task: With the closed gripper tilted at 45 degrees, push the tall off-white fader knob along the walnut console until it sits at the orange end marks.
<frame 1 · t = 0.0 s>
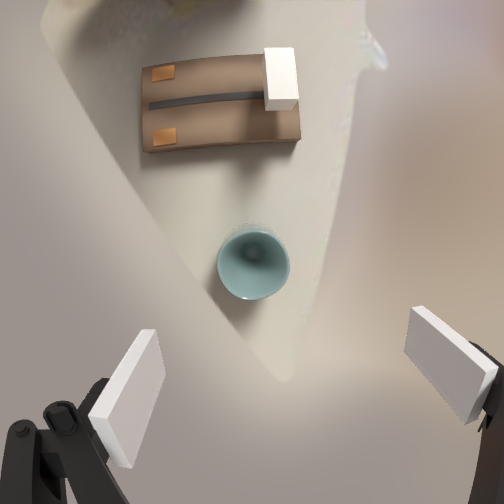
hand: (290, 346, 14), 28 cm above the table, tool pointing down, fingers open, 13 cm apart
cup: (251, 246, 42), on the table
fader knob: (277, 83, 30), point 7 cm above the table, slide at 0.0 cm
console: (219, 103, 37), on the table
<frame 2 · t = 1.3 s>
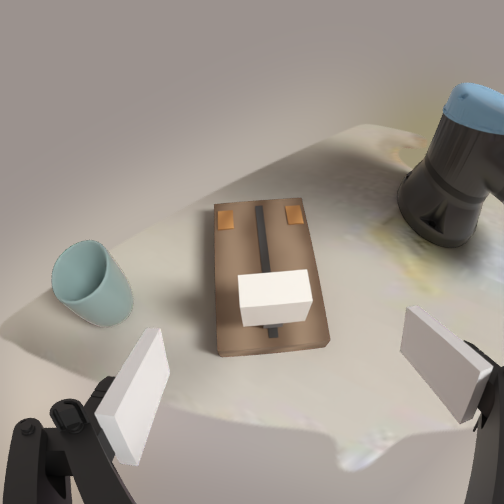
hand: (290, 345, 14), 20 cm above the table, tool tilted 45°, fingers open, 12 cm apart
cup: (115, 307, 37), on the table
fader knob: (273, 305, 29), point 7 cm above the table, slide at 0.0 cm
console: (265, 276, 39), on the table
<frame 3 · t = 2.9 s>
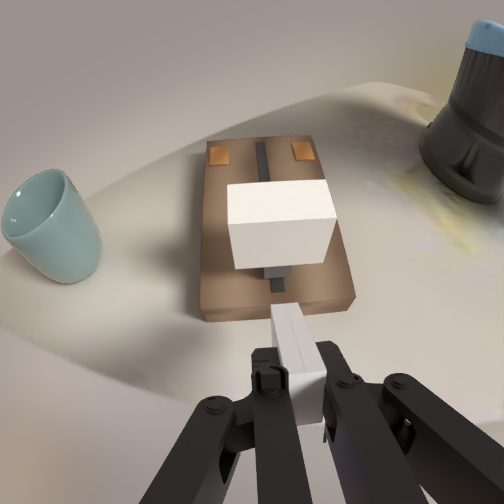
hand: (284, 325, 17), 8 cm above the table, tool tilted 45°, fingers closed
cup: (81, 262, 29), on the table
fader knob: (278, 238, 20), point 7 cm above the table, slide at 0.0 cm
console: (267, 221, 30), on the table
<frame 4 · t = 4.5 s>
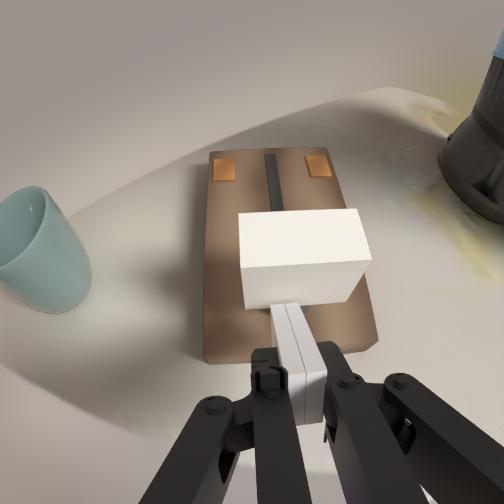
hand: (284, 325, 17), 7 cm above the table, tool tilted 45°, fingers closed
cup: (70, 287, 25), on the table
fader knob: (296, 274, 17), point 7 cm above the table, slide at 0.5 cm, touching gripper
console: (278, 247, 27), on the table
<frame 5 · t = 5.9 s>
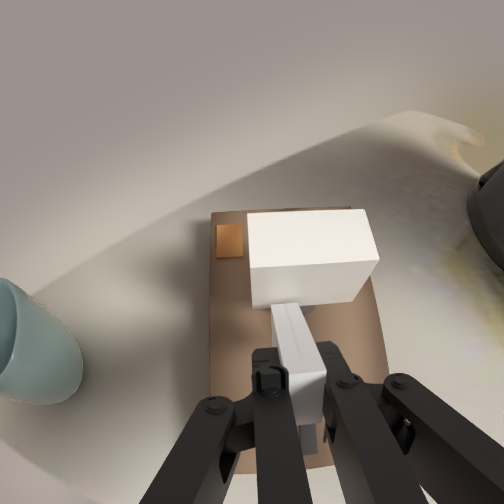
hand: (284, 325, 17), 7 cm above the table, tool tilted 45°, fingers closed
cup: (61, 368, 21), on the table
fader knob: (303, 274, 17), point 7 cm above the table, slide at 8.6 cm, touching gripper
console: (293, 336, 23), on the table
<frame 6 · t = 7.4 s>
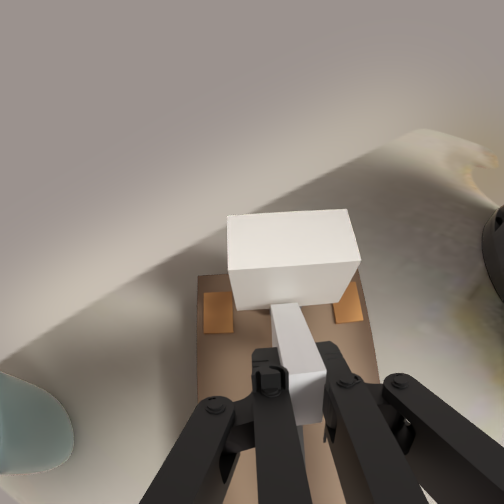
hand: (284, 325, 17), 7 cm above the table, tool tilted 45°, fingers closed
cup: (53, 430, 18), on the table
fader knob: (287, 275, 17), point 7 cm above the table, slide at 14.4 cm, touching gripper
console: (289, 410, 20), on the table
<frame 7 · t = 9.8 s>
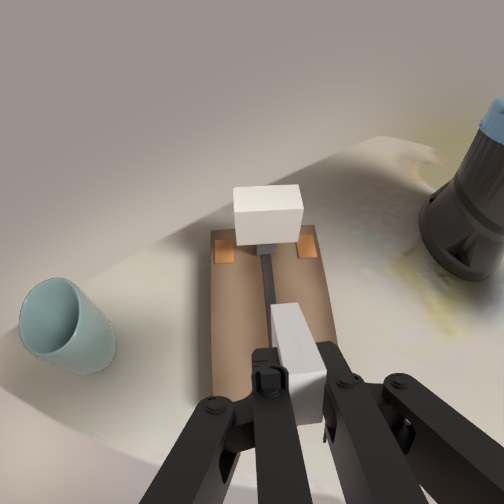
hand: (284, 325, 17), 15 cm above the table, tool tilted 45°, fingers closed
cup: (96, 348, 30), on the table
fader knob: (266, 224, 30), point 7 cm above the table, slide at 14.0 cm
console: (270, 319, 32), on the table
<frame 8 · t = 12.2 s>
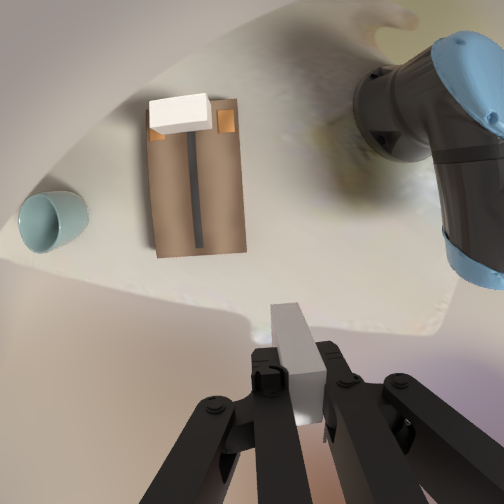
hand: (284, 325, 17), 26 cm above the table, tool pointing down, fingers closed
cup: (75, 214, 41), on the table
fader knob: (184, 117, 31), point 7 cm above the table, slide at 14.0 cm
console: (197, 178, 40), on the table
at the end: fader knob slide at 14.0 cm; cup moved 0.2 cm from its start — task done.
